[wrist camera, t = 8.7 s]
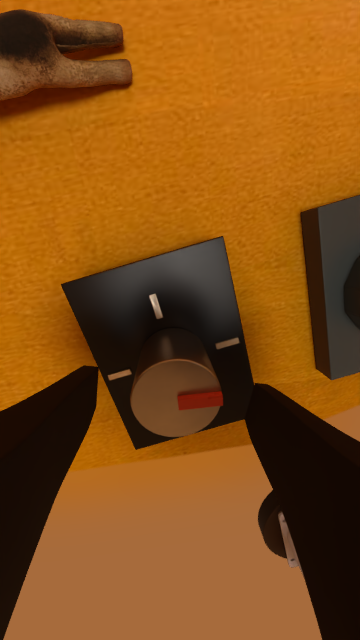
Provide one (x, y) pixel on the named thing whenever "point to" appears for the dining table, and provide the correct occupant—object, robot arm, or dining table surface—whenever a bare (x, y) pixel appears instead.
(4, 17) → the figurine
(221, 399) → the dimmer knob
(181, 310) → the dimmer panel
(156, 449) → the dining table surface
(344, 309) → the switch block
